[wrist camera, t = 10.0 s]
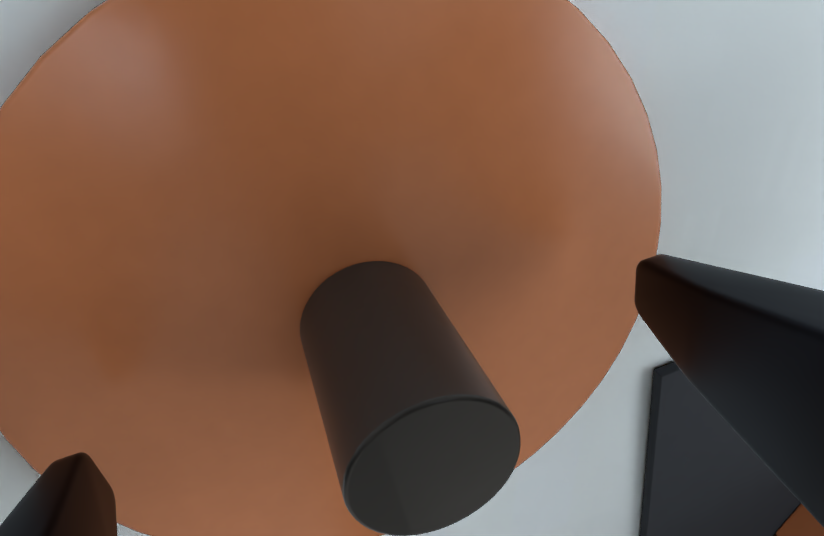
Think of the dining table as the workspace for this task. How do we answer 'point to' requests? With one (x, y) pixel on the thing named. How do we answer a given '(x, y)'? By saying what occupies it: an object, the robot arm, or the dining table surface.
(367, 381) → the pot lid
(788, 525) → the pot
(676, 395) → the placemat
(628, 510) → the dining table surface
